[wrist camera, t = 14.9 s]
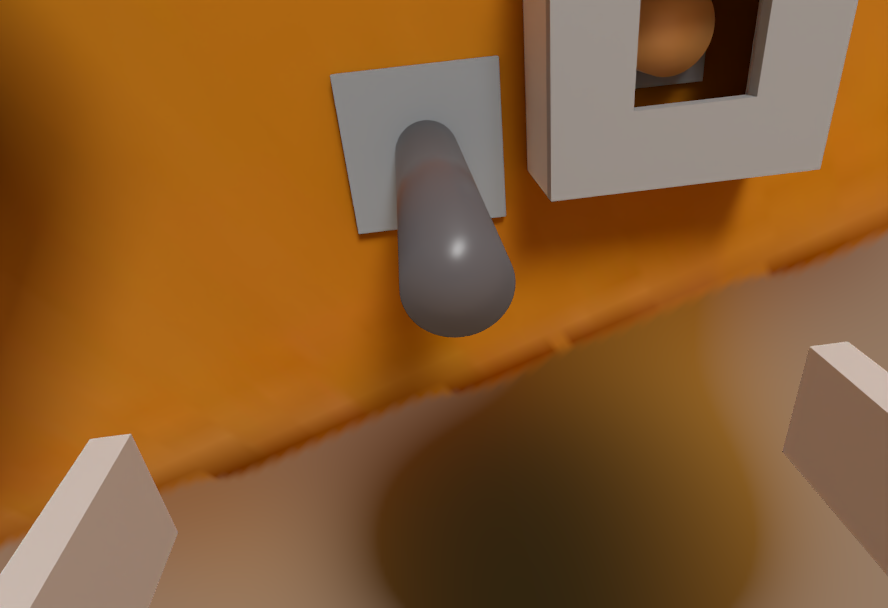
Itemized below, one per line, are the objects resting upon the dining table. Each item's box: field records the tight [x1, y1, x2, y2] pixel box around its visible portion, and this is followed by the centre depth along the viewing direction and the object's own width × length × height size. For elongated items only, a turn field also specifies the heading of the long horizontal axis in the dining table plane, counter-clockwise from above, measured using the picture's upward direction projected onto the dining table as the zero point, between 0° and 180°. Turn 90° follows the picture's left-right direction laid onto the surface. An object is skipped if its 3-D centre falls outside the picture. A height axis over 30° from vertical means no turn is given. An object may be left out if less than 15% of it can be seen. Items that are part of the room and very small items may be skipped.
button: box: [636, 0, 715, 77], centre depth 30 cm, size 4×4×2 cm
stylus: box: [395, 120, 515, 337], centre depth 25 cm, size 4×4×17 cm
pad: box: [330, 56, 506, 234], centre depth 33 cm, size 9×9×1 cm
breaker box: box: [523, 0, 858, 202], centre depth 28 cm, size 14×14×6 cm
